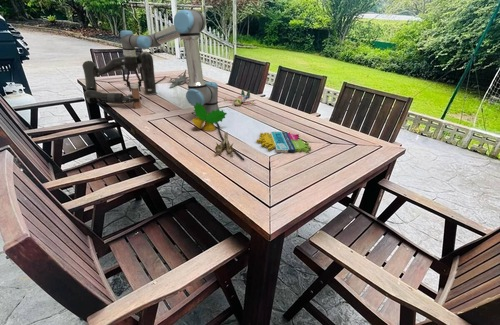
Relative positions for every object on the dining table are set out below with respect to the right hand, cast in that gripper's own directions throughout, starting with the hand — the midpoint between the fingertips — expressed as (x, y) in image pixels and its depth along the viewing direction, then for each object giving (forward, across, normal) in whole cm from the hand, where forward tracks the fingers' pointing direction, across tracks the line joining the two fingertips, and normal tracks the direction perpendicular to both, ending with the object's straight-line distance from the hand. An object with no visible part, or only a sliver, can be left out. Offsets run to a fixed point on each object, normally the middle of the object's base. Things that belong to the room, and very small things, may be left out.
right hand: (135, 91), depth 186 cm
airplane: (+12, -38, -72) cm, 83 cm away
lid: (-4, 0, 0) cm, 4 cm away
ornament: (+12, -43, +50) cm, 67 cm away
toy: (+12, -82, -5) cm, 82 cm away
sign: (+12, -80, +78) cm, 113 cm away
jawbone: (+12, -45, +82) cm, 94 cm away
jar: (+12, 0, 0) cm, 12 cm away
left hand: (+6, -2, +1) cm, 6 cm away
